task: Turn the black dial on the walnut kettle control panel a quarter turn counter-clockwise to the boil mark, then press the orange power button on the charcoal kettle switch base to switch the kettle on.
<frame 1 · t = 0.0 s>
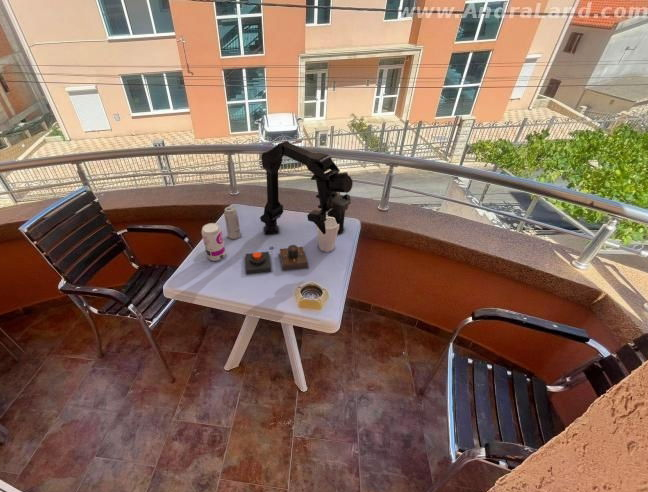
hand: (331, 228, 126), 15 cm above the table, tool pointing down, fingers open, 9 cm apart
foam cup: (326, 247, 142), on the table
supplement can: (216, 256, 142), on the table
dial: (293, 251, 133), point 5 cm above the table, hinge at 0.0°
dial panel: (293, 260, 136), on the table
power button: (257, 256, 133), point 5 cm above the table, slide at 0.2 cm
energy drink can: (234, 236, 153), on the table
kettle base: (258, 264, 136), on the table
aerosol can: (334, 230, 152), on the table
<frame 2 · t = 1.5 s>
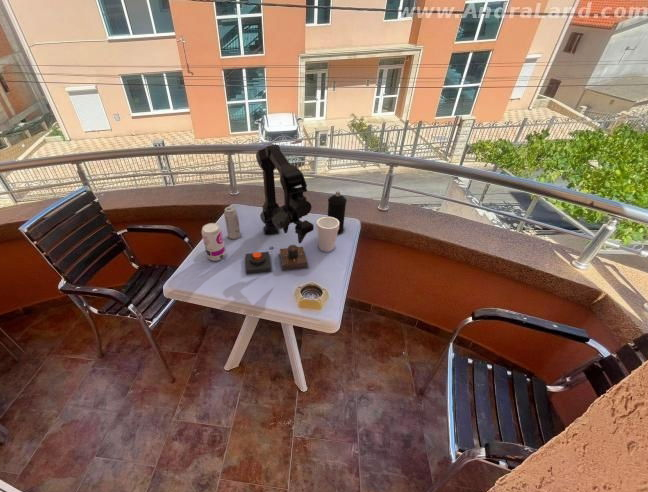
hand: (292, 237, 129), 12 cm above the table, tool pointing down, fingers open, 9 cm apart
nothing on the table moved.
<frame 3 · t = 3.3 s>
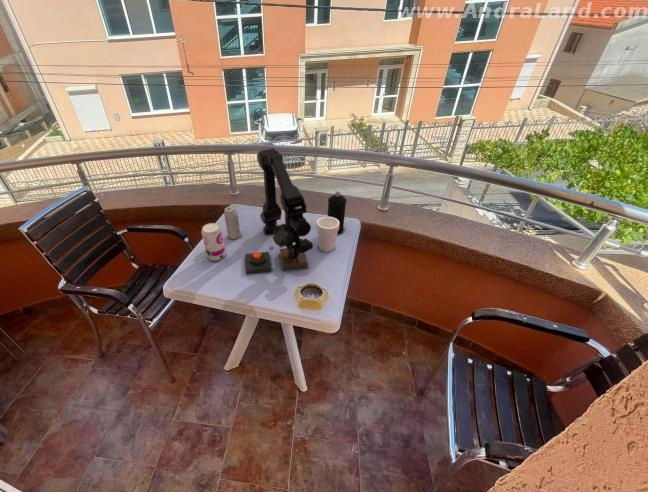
hand: (293, 254, 134), 4 cm above the table, tool pointing down, fingers closed on dial, 4 cm apart
dial: (293, 251, 133), point 5 cm above the table, hinge at -0.1°, touching gripper
everything else where it was.
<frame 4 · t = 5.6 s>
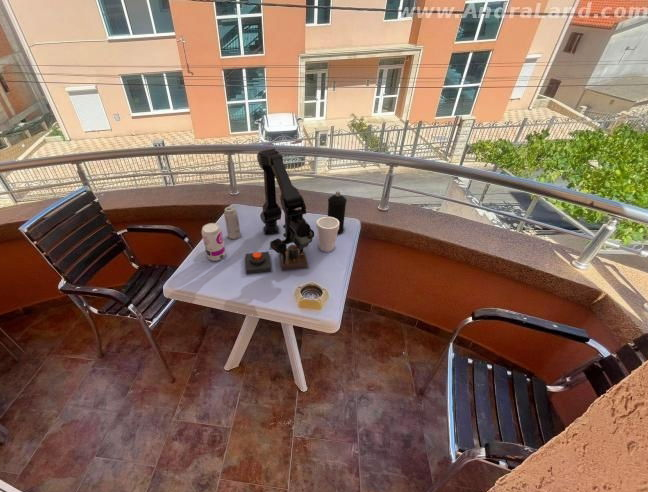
hand: (292, 255, 134), 3 cm above the table, tool pointing down, fingers open, 9 cm apart
dial: (293, 251, 133), point 5 cm above the table, hinge at 90.5°
everything else where it was.
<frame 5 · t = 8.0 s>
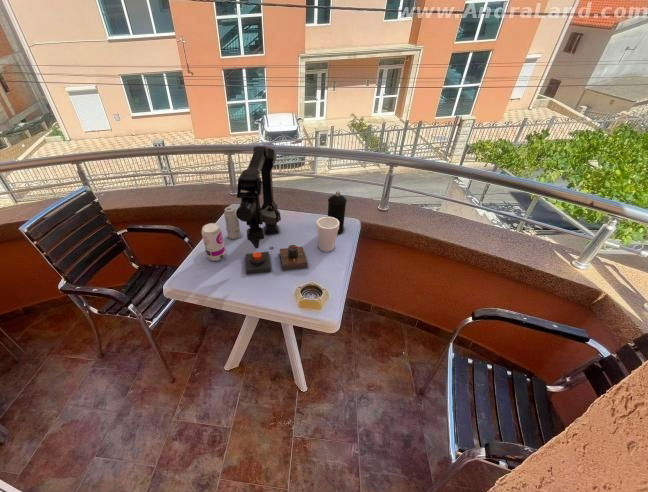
hand: (256, 241, 128), 12 cm above the table, tool pointing down, fingers open, 9 cm apart
nothing on the table moved.
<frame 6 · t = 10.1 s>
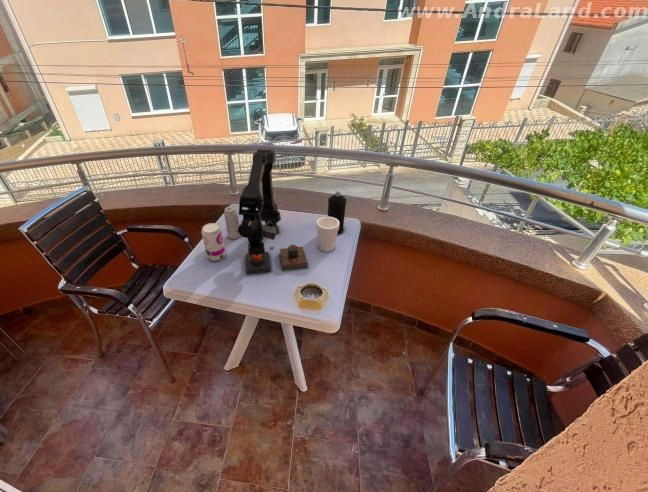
hand: (257, 254, 132), 5 cm above the table, tool pointing down, fingers closed, pressing on power button
power button: (257, 256, 133), point 4 cm above the table, slide at 0.0 cm, touching gripper
everything else where it was.
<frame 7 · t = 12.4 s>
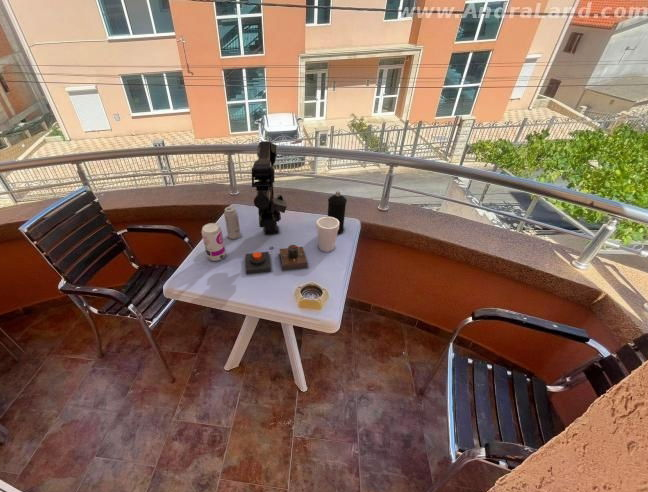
hand: (267, 229, 134), 12 cm above the table, tool pointing down, fingers closed
power button: (257, 256, 133), point 5 cm above the table, slide at 0.2 cm
everything else where it was.
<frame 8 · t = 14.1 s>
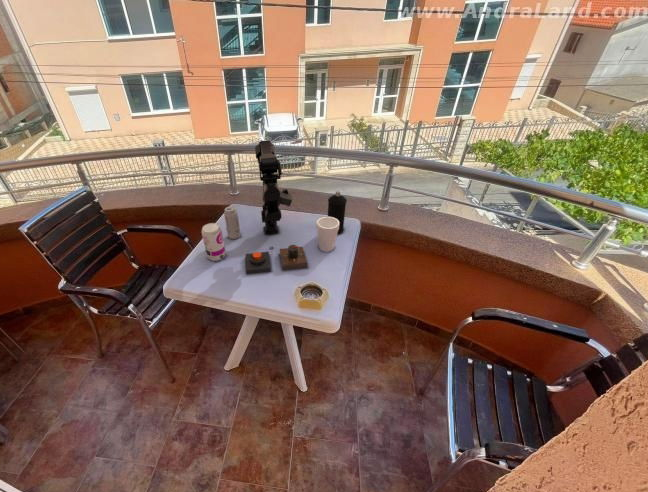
hand: (272, 222, 136), 13 cm above the table, tool pointing down, fingers closed
nothing on the table moved.
at the end: dial at +90° (first picture: +0°); power button pushed in 1.1 cm at the most during the clip, back to 0.2 cm at the end; power button slide at 0.2 cm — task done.
